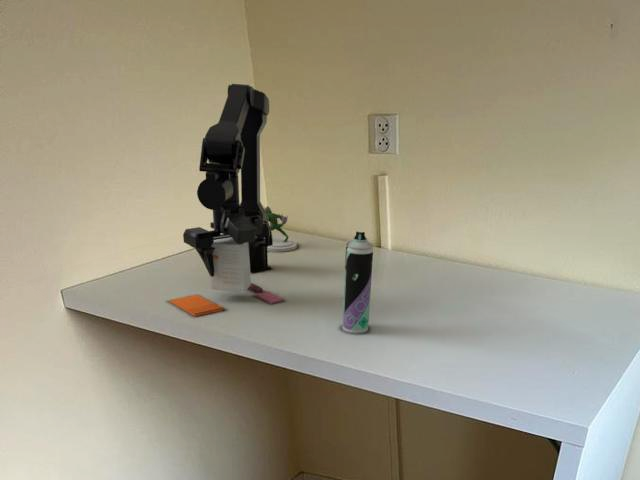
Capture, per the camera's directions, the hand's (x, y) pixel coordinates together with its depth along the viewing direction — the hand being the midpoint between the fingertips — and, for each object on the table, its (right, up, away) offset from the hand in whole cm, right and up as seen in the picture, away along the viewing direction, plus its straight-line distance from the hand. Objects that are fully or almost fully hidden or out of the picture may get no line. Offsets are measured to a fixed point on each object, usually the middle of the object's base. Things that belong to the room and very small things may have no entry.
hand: (229, 272), depth 152 cm
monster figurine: (+5, +20, +41) cm, 46 cm away
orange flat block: (-7, -8, -2) cm, 11 cm away
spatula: (+5, -2, +7) cm, 9 cm away
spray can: (+28, -15, -8) cm, 33 cm away
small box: (0, -3, +2) cm, 4 cm away
